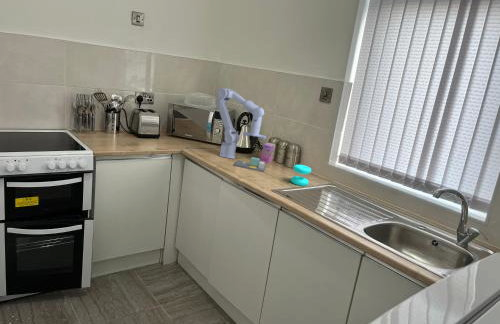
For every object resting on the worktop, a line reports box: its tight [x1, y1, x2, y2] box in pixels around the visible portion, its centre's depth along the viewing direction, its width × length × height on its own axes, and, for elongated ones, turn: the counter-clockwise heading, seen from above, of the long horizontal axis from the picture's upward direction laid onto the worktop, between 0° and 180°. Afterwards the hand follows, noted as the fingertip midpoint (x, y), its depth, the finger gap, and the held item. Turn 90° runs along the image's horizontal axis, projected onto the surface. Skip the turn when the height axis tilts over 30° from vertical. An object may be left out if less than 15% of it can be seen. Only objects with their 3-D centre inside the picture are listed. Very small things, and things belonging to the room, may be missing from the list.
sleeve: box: [249, 156, 261, 166], centre depth 231 cm, size 5×5×4 cm
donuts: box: [290, 164, 312, 187], centre depth 214 cm, size 10×10×10 cm
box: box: [259, 142, 276, 165], centre depth 253 cm, size 10×6×12 cm, turn 161°
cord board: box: [234, 160, 267, 173], centre depth 232 cm, size 18×12×4 cm, turn 83°
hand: (251, 148), depth 240 cm, fingers closed
